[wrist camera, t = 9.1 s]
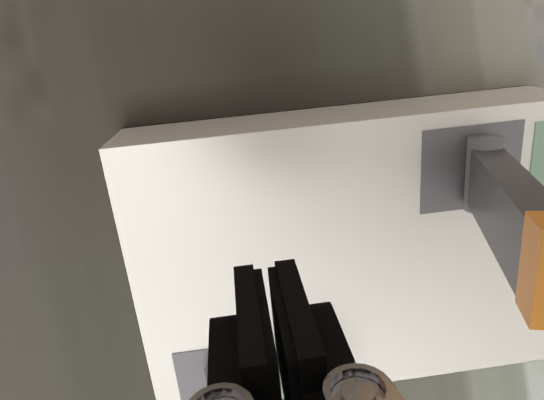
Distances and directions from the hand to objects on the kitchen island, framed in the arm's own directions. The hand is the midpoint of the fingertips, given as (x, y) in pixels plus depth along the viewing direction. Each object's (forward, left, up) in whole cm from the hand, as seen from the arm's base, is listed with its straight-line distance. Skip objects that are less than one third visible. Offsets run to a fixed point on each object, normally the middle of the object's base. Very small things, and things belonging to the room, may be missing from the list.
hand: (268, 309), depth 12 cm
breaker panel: (-5, +5, -16) cm, 17 cm away
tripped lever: (-11, 0, -9) cm, 15 cm away
